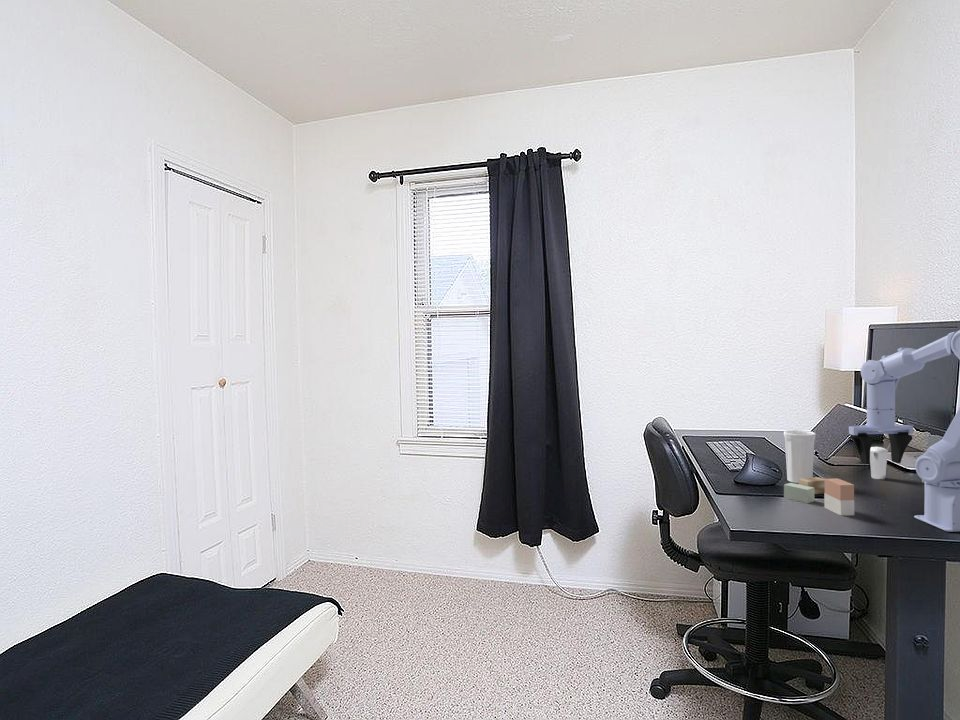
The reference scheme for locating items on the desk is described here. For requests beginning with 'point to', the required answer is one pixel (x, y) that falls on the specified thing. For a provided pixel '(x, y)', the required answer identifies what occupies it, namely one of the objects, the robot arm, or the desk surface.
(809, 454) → the cup
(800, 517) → the desk surface
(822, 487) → the oak brick
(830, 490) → the terracotta brick
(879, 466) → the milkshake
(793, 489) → the sage brick
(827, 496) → the cream brick
